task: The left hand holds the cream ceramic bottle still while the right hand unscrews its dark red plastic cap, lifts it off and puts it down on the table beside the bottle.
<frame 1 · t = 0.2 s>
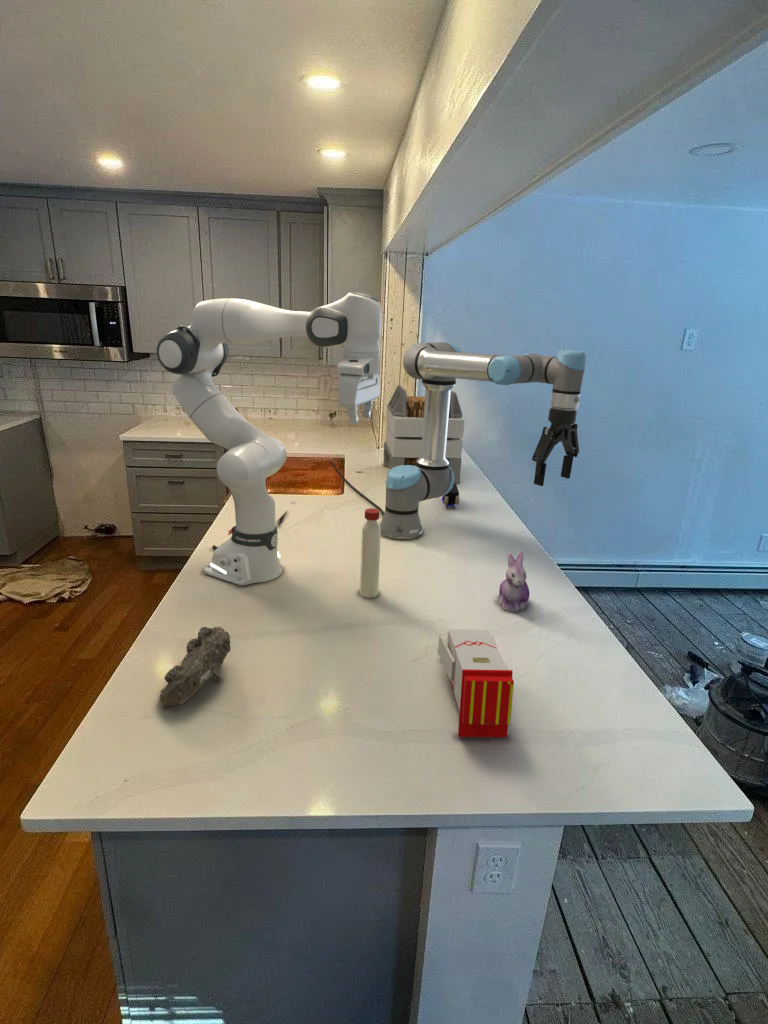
left hand: (360, 420, 142), 48 cm above the counter, tool pointing down, fingers open, 8 cm apart
right hand: (552, 481, 165), 29 cm above the counter, tool pointing down, fingers open, 13 cm apart
cap: (372, 511, 149), point 24 cm above the counter, screwed on, not yet turned
figurine: (513, 604, 155), on the counter
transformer: (419, 473, 275), on the counter
bottle: (369, 593, 157), on the counter
feather: (285, 514, 213), on the counter
toy: (469, 691, 119), on the counter
fossil: (201, 677, 119), on the counter
figurine character: (449, 504, 232), on the counter
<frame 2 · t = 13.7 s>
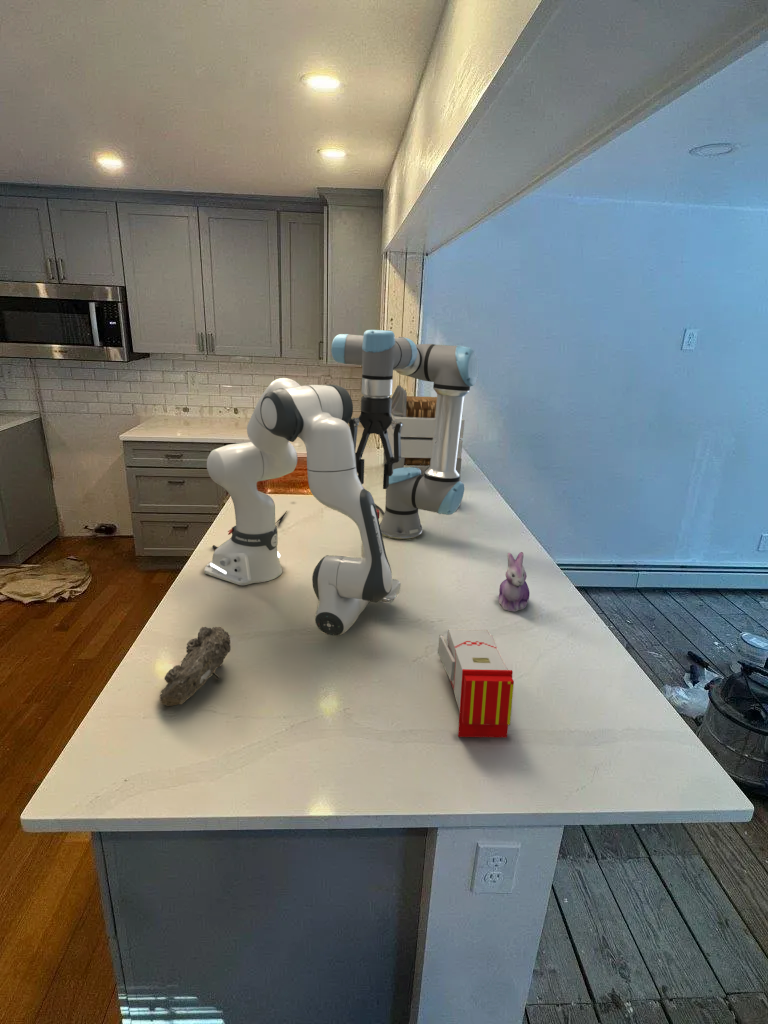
left hand: (370, 572, 156), 6 cm above the counter, tool horizontal, fingers closed on bottle, 5 cm apart
right hand: (373, 485, 147), 31 cm above the counter, tool pointing down, fingers open, 6 cm apart
bottle: (369, 593, 157), on the counter, touching left hand
everything else where it was.
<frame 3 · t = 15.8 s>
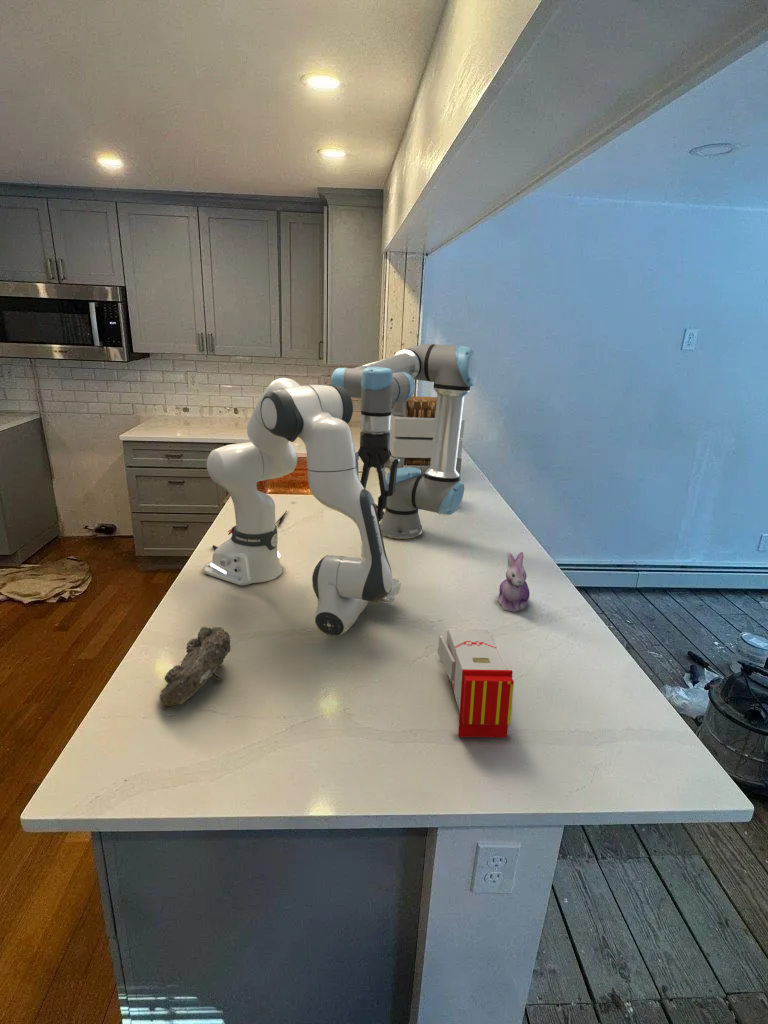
left hand: (370, 572, 156), 6 cm above the counter, tool horizontal, fingers closed on bottle, 5 cm apart
right hand: (372, 518, 150), 22 cm above the counter, tool pointing down, fingers closed on cap, 4 cm apart
cap: (372, 511, 149), point 24 cm above the counter, screwed on, not yet turned, touching right hand
bottle: (369, 593, 157), on the counter, touching left hand
everything else where it was.
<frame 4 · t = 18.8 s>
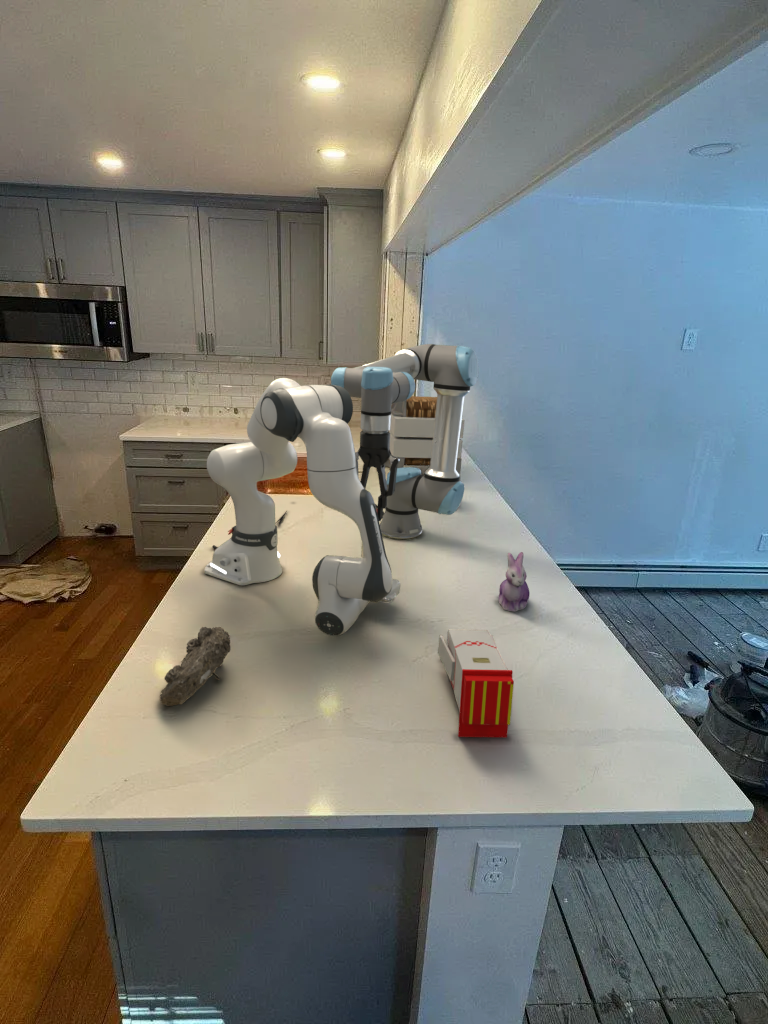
left hand: (370, 572, 156), 6 cm above the counter, tool horizontal, fingers closed on bottle, 5 cm apart
right hand: (372, 518, 150), 22 cm above the counter, tool pointing down, fingers closed on cap, 4 cm apart
cap: (372, 511, 149), point 24 cm above the counter, turned 91° so far, risen 0.1 cm, still on its thread, touching right hand
bottle: (369, 593, 157), on the counter, touching left hand
everything else where it was.
when the right hand's fingers open (2 cm above the counter, at t = 38.0 s): cap drops 2 cm, point 2 cm above the counter.
when the left hand's fingers open (6 cm above the counter, at t = 39.3 s): bottle stays where it is, on the counter.
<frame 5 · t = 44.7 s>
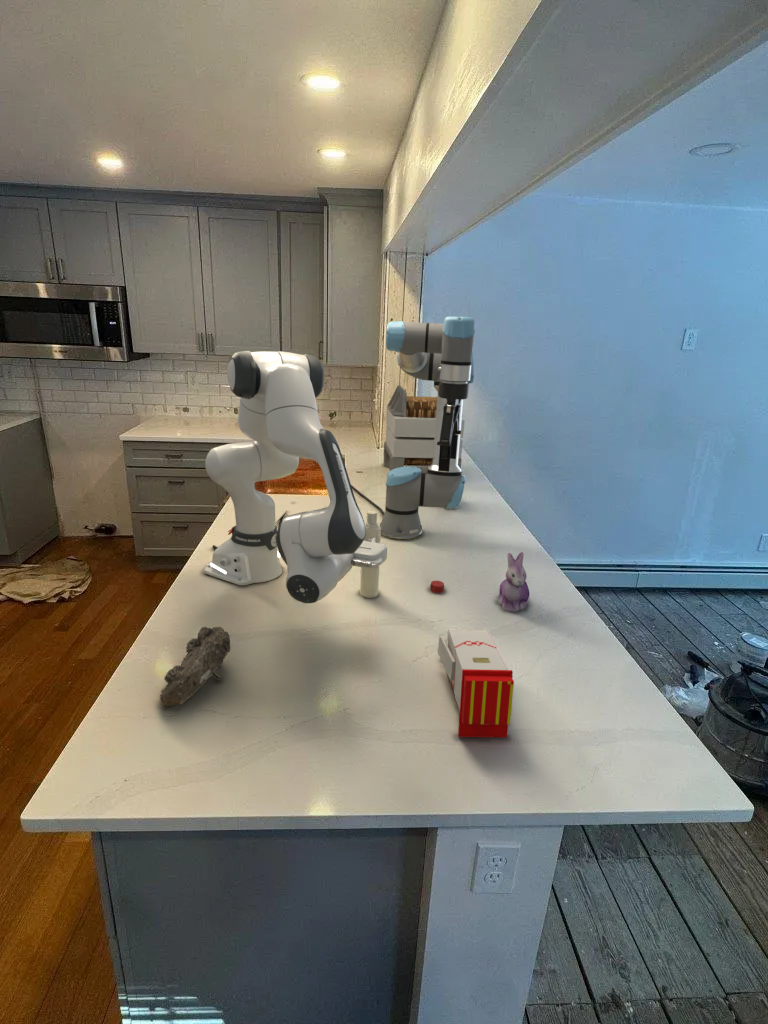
left hand: (354, 537, 138), 22 cm above the counter, tool horizontal, fingers open, 8 cm apart
right hand: (447, 464, 149), 37 cm above the counter, tool pointing down, fingers open, 13 cm apart
cap: (437, 584, 160), point 2 cm above the counter, off its thread
bottle: (369, 593, 157), on the counter
everything else where it was.
at the end: cap came off its thread; cap point 1.8 cm above the counter; the left hand is holding nothing; the right hand is holding nothing; bottle tilted 0°; bottle moved 0.0 cm from its start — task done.
